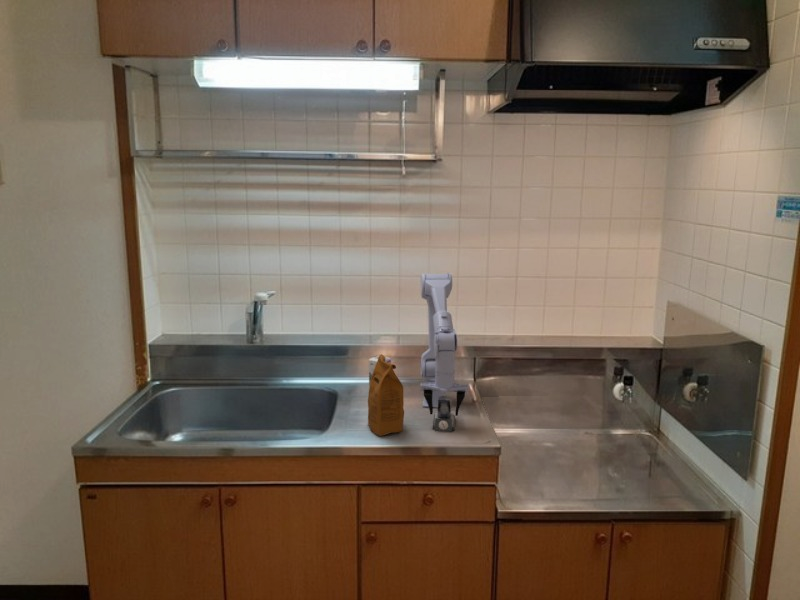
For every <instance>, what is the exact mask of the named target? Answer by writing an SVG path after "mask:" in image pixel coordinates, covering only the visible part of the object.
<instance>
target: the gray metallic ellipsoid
mask: <svg viewBox="0 0 800 600" xmlns="http://www.w3.org/2000/svg"><path fill="white" fill-rule="evenodd" d="M438 399H450V400H451V401H452V397H451V396H447V395H446V396H441V397H439V398H438Z"/></svg>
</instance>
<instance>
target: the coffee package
mask: <svg viewBox="0 0 800 600" xmlns="http://www.w3.org/2000/svg"><path fill="white" fill-rule="evenodd" d="M378 356H379V358H378V361H377V363H376V366H375V369H374V371H373V373H372V377H371V380H370V387H369V386H368V396H367V397H368V398H367V409H368V412H367V413H368V414H367V423H368V425H369V429H370V430H371V432H373V434H376V436H378V437H382V436H385V435H388V434H391V433H394V434H395V433H399V432H403V431H404V418H405V409H404V405H405V403H404V401H405V400H404V386H403V384H402V382H401V380H400V379H399V378H398V375H396V373H395V371H394V370H396V369H397V366H396V365H395V364H393V363H392V362H391V363H387V362H385V357H386V356H384V355H383V354H379V355H378Z"/></svg>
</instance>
